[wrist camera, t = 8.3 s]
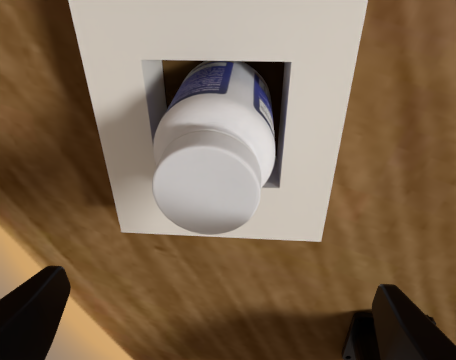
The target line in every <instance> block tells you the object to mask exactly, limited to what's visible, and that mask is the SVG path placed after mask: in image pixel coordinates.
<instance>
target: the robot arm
mask: <svg viewBox="0 0 456 360" xmlns="http://www.w3.org/2000/svg"><path fill="white" fill-rule="evenodd" d="M70 288H71V287H70V283H69V280H68V277H67V275H66V272H65V269H64V268H63V267H62V266H47V267H45V268H44V269H42V270H41V271H40V272H38V273H37V274H36V275H34V276H33V277H31V278H30V279H29V280H27V281H26V282H24V283H23V284H21V285H20V286H19V287H17V288H16V289H15V290H13V291H11V292H10V293H9V294H7V295H6V296H4V297H3V298H2V299H0V360H45V358H46V356H47V353H48V351H49V349H50V347H51V344H52V342H53V339H54V337H55V334H56V331H57V328H58V325H59V322H60V320H61V317H62V314H63V311H64V308H65V305H66V302H67V300H68V297H69V294H70ZM372 312H373V313H356V314H354V316H353V319H352V322H351V325H350V328H349V331H348V335H347V338H346V341H345V344H344V347H343V351H342V357H343V359H344V360H456V345H455V344H454V343H453V342H452V341H451V340H450V339H449V338H448V337H447V336H446V335H445V334H444V333H443V332H442V331H441V330H440V329H439V328H438V327H437V326H436V323H435V321H434V319H433V318H432V317H427V316H426V315H425V314H424V313H423V312H422V311H421V310H420V309H419V308H418V307H417V306H416V305H415V304H414V303H413V302H412V301H411V300H410V299H409V298H408V297H407V296H406V295H405V294H404V293H403V292H402V291H401V290H400V289H399V288H398V287H397V286H395V285H392V284H380V285H379V286H378V288H377V291H376V294H375V297H374V300H373V303H372Z"/></svg>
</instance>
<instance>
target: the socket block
mask: <svg viewBox="0 0 456 360" xmlns="http://www.w3.org/2000/svg"><path fill="white" fill-rule="evenodd" d="M68 2H69V6H70V10H71V15H72V19H73V23H74V28H75V32H76V36H77V41H78V45H79V49H80V54H81V58H82V62H83V67H84V71H85V75H86V80H87V84H88V88H89V93H90V97H91V101H92V106H93V110H94V114H95V119H96V123H97V127H98V132H99V136H100V140H101V145H102V149H103V153H104V158H105V162H106V166H107V171H108V175H109V179H110V184H111V188H112V192H113V197H114V201H115V206H116V210H117V214H118V219H119V223H120V227H121V232H127V233H148V234H169V235H190V236H211V237H232V238H254V239H275V240H296V241H317V242H321V239H322V234H323V229H324V224H325V218H326V213H327V208H328V203H329V198H330V193H331V188H332V182H333V177H334V172H335V167H336V162H337V157H338V151H339V146H340V141H341V136H342V131H343V126H344V121H345V115H346V110H347V105H348V100H349V95H350V90H351V84H352V79H353V74H354V69H355V64H356V59H357V54H358V48H359V43H360V38H361V33H362V28H363V23H364V17H365V12H366V7H367V2H368V0H68ZM162 60H200V61H268V62H285V64H284V76H283V88H282V100H281V112H280V124H279V136H278V148H277V156H275V162H274V166H273V170H272V172H271V175H270V177H269V178H268V180H267V182H266V183H265V184H264V186H263V187H262V188H261V195H260V202H259V205H258V207H257V210H256V211H255V213H254V215H253V216H252V217H251V218H250V219H249V220H248V221H247V222H246V223H245V224H244V225H242V226H241V227H239V228H237V229H235V230H232V231H230V232H227V233H222V234H213V235H207V234H199V233H195V232H190V231H188V230H186V229H183V228H181V227H179V226H177V225H176V224H174V223H173V222H171V221H170V220H169V219H168V218H167V217H166V216H165V215H164V214H163V213H162V212H161V210H160V209H159V207H158V206H157V204H156V202H155V199H154V196H153V192H152V179H153V175H154V171H155V169H156V167H157V166H156V163H155V159H154V153H153V144H154V137H155V133H156V130H157V127H158V125H159V123H160V121H161V119H162V117H163V116H164V114H165V112H166V111H167V105H166V96H165V86H164V77H163V68H162Z"/></svg>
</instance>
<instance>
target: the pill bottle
mask: <svg viewBox="0 0 456 360" xmlns="http://www.w3.org/2000/svg"><path fill="white" fill-rule="evenodd" d="M153 153H154V159H155V163H156V166H157V167H156V169H155V171H154V175H153V179H152V192H153V196H154V199H155V202H156V204H157V206H158V207H159V209H160V210H161V212H162V213H163V214H164V215H165V216H166V217H167V218H168V219H169V220H170V221H171V222H173V223H174V224H176V225H177V226H179V227H181V228H183V229H186V230H188V231H190V232H195V233H199V234H207V235H213V234H222V233H227V232H230V231H232V230H235V229H237V228H239V227H241V226H242V225H244V224H245V223H246V222H247V221H248V220H249V219H250V218H251V217H252V216H253V215H254V213H255V211H256V210H257V207H258V205H259V202H260V195H261V188H262V187H263V186H264V184H265V183H266V182H267V180H268V178H269V177H270V175H271V172H272V170H273V166H274V162H275V137H274V126H273V112H272V101H271V96H270V92H269V89H268V86H267V84H266V83H265V81H264V79H263V78H262V77H261V75H260V74H259V73H258V72H257V71H256V70H255V69H253V68H252V67H251V66H249V65H248V64H246V63H244V62H242V61H206V62H203V63H201V64H199V65H198V66H196V67H195V68H194V69H193V70H192V71H191V72H190V73H189V74H188V75H187V77H186V78H185V79H184V81H183V83H182V84H181V86H180V88H179V90H178V91H177V93H176V95H175V97H174V98H173V100H172V102H171V104H170V105H169V107H168V109H167V111H166V112H165V114H164V116H163V117H162V119H161V121H160V123H159V125H158V127H157V130H156V133H155V137H154V144H153Z"/></svg>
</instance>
